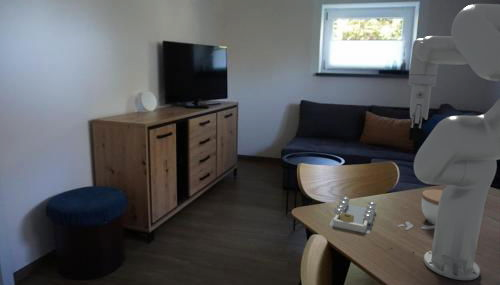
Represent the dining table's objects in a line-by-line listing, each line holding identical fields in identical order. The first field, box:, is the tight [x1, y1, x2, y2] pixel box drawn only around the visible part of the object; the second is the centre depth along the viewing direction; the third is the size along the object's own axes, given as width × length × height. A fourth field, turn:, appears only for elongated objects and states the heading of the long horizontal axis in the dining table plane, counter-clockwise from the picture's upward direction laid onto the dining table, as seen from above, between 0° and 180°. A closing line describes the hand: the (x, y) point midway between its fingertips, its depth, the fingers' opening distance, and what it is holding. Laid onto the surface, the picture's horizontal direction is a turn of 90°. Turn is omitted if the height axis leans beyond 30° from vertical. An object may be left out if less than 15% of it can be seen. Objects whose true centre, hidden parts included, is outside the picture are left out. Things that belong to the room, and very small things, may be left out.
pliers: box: [396, 221, 435, 231], centre depth 116 cm, size 10×2×15 cm
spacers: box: [333, 196, 377, 226], centre depth 120 cm, size 14×12×3 cm
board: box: [328, 204, 377, 235], centre depth 118 cm, size 20×12×3 cm, turn 155°
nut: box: [340, 213, 354, 223], centre depth 113 cm, size 4×4×3 cm
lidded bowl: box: [421, 189, 444, 226], centre depth 118 cm, size 13×13×11 cm
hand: (414, 140), depth 114 cm, fingers closed
